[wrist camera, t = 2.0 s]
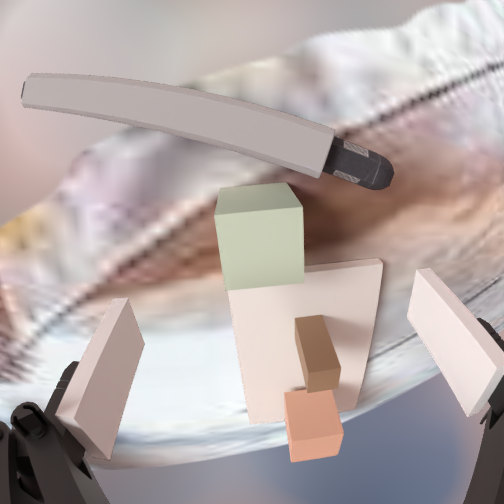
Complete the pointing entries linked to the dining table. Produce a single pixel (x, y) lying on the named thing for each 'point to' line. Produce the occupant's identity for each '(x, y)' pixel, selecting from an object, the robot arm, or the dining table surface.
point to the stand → (307, 350)
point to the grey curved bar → (211, 123)
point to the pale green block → (260, 236)
